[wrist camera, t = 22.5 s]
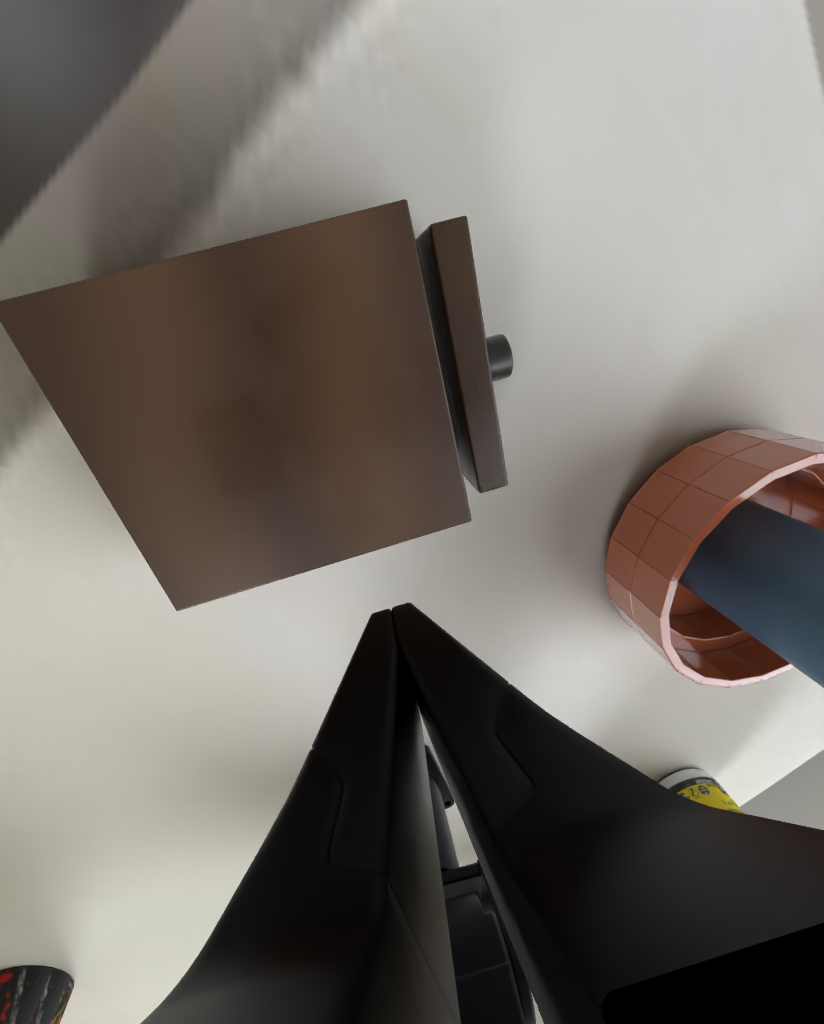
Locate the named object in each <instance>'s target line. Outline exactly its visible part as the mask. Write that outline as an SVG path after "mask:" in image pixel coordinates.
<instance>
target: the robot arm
mask: <svg viewBox="0 0 824 1024" xmlns="http://www.w3.org/2000/svg"><path fill="white" fill-rule="evenodd" d="M418 707H419V708H418ZM419 710H420V713H421V716H422V719H423V721H424V724H425V727H426V729H427V732H428V734H429V737H430V739H431V742H432V744H433V747H434V749H435V752H436V754H437V757H438V759H439V762H440V764H441V767H442V769H443V772H444V774H445V777H446V779H447V782H448V784H449V786H448V784H447V782H446V780H445V778H444V776H443V774H442V772H441V770H440V768H439V766H438V764H437V762H436V760H435V758H434V756H433V754H432V752H431V750H430V748H429V747H428V746H426V745H424V739H423V731H422V724H421V718H420V713H419ZM312 748H313V749H311V750H310V751H309V754H308V756H307V758H306V760H305V763H304V765H303V767H302V769H301V771H300V773H299V775H298V777H297V780H296V782H295V784H294V786H293V788H292V790H291V792H290V794H289V796H288V798H287V800H286V802H285V804H284V806H283V808H282V810H281V811H280V813H279V815H278V817H277V819H276V821H275V822H274V824H273V826H272V828H271V830H270V832H269V833H268V835H267V837H266V839H265V841H264V842H263V844H262V846H261V848H260V849H259V851H258V853H257V855H256V856H255V858H254V860H253V862H252V863H251V865H250V867H249V869H248V871H247V872H246V874H245V876H244V878H243V879H242V881H241V883H240V885H239V886H238V888H237V890H236V892H235V893H234V895H233V897H232V899H231V900H230V902H229V904H228V906H227V907H226V909H225V911H224V913H223V914H222V916H221V918H220V920H219V921H218V923H217V925H216V927H215V928H214V930H213V932H212V934H211V935H210V937H209V939H208V940H207V942H206V944H205V945H204V947H203V949H202V950H201V952H200V953H199V955H198V956H197V958H196V959H195V961H194V962H193V964H192V965H191V967H190V968H189V970H188V971H187V972H186V974H185V975H184V976H183V978H182V979H181V980H180V982H179V983H178V984H177V985H176V987H175V988H174V989H173V991H172V992H171V993H170V994H169V995H168V996H167V997H166V998H165V1000H164V1001H163V1002H162V1003H161V1004H160V1005H159V1006H158V1007H157V1008H156V1009H155V1010H154V1011H153V1012H152V1013H151V1014H150V1015H149V1016H148V1017H147V1018H146V1019H145V1020H144V1021H143V1022H142V1023H141V1024H536V1019H535V1010H534V1005H533V999H532V994H533V997H534V999H535V1001H536V1003H537V1005H538V1008H539V1012H540V1014H541V1017H542V1019H543V1022H544V1024H824V830H820V829H815V828H810V827H806V826H801V825H796V824H791V823H786V822H781V821H777V820H771V819H767V818H762V817H758V816H753V815H748V814H743V813H738V812H734V811H729V810H724V809H719V808H715V807H711V806H708V805H705V804H702V803H699V802H696V801H694V800H691V799H689V798H686V797H684V796H682V795H680V794H678V793H676V792H674V791H672V790H670V789H668V788H666V787H664V786H662V785H661V784H659V783H657V782H656V781H654V780H652V779H651V778H649V777H648V776H646V775H644V774H643V773H641V772H640V771H638V770H636V769H635V768H633V767H632V766H630V765H628V764H627V763H625V762H624V761H622V760H620V759H619V758H617V757H616V756H614V755H612V754H611V753H609V752H608V751H606V750H605V749H603V748H601V747H600V746H598V745H597V744H595V743H593V742H592V741H590V740H589V739H587V738H585V737H584V736H582V735H581V734H579V733H577V732H576V731H574V730H573V729H571V728H570V727H568V726H567V725H565V724H564V723H562V722H561V721H559V720H558V719H556V718H555V717H553V716H552V715H550V714H549V713H547V712H546V711H545V710H543V709H542V708H541V707H539V706H538V705H537V704H536V703H534V702H533V701H532V700H530V699H529V698H528V697H526V696H525V695H524V694H523V693H521V692H520V691H519V690H518V689H516V688H515V687H514V686H513V685H511V684H509V683H508V681H506V680H505V679H504V678H503V677H501V676H500V675H499V674H498V673H496V672H495V671H494V670H493V669H492V668H490V667H489V666H488V665H487V664H485V663H484V662H483V661H482V660H480V659H479V658H478V657H477V656H476V655H474V654H473V653H472V652H471V651H469V650H468V649H467V648H466V647H464V646H463V645H462V644H461V643H460V642H458V641H457V640H456V639H455V638H453V637H452V636H451V635H450V634H448V633H447V632H446V631H445V630H444V629H442V628H441V627H440V626H439V625H437V624H436V623H435V622H434V621H432V620H431V619H430V618H429V617H427V616H426V615H425V614H424V613H423V612H421V611H420V610H419V609H418V608H416V607H415V606H414V605H413V604H411V603H405V604H402V605H399V606H396V607H393V608H392V611H391V610H390V609H386V610H383V611H379V612H376V613H373V614H372V615H371V616H370V618H369V621H368V623H367V625H366V627H365V630H364V632H363V634H362V636H361V638H360V641H359V643H358V645H357V647H356V650H355V652H354V654H353V656H352V658H351V661H350V663H349V665H348V667H347V670H346V672H345V674H344V676H343V679H342V681H341V683H340V685H339V687H338V690H337V692H336V694H335V696H334V699H333V701H332V703H331V705H330V707H329V710H328V712H327V714H326V716H325V719H324V721H323V723H322V725H321V727H320V730H319V732H318V734H317V736H316V739H315V741H314V743H313V745H312ZM449 787H450V788H449ZM450 789H451V790H450ZM453 797H454V798H453ZM454 799H455V802H456V804H457V807H458V809H459V812H460V814H461V817H462V819H463V822H464V824H465V827H466V829H467V832H468V834H469V837H470V839H471V842H472V844H473V847H474V849H475V852H476V854H477V857H478V859H479V860H477V863H474V864H470V865H466V866H462V867H459V865H458V861H457V857H456V853H455V848H454V844H453V840H452V836H451V832H450V828H449V824H448V820H447V816H446V812H445V809H447V808H449V807H451V806H452V805H453V804H454ZM531 992H532V994H531Z"/></svg>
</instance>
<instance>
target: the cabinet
mask: <svg viewBox="0 0 824 1024" xmlns="http://www.w3.org/2000/svg"><path fill="white" fill-rule="evenodd" d="M0 322H1V324H2V325H3V327H4V329H5V330H6V332H7V333H8V335H9V337H10V338H11V340H12V342H13V343H14V345H15V347H16V348H17V350H18V351H19V353H20V355H21V356H22V358H23V360H24V361H25V363H26V365H27V366H28V368H29V370H30V371H31V373H32V374H33V376H34V378H35V379H36V381H37V383H38V384H39V386H40V388H41V389H42V391H43V392H44V394H45V396H46V397H47V399H48V401H49V402H50V404H51V406H52V407H53V409H54V411H55V412H56V414H57V415H58V417H59V419H60V420H61V422H62V424H63V425H64V427H65V429H66V430H67V432H68V433H69V435H70V437H71V438H72V440H73V442H74V443H75V445H76V447H77V448H78V450H79V452H80V453H81V455H82V456H83V458H84V460H85V461H86V463H87V465H88V466H89V468H90V470H91V471H92V473H93V474H94V476H95V478H96V479H97V481H98V483H99V484H100V486H101V488H102V489H103V491H104V493H105V494H106V496H107V497H108V499H109V501H110V502H111V504H112V506H113V507H114V509H115V511H116V512H117V514H118V515H119V517H120V519H121V520H122V522H123V524H124V525H125V527H126V529H127V530H128V532H129V534H130V535H131V537H132V538H133V540H134V542H135V543H136V545H137V547H138V548H139V550H140V552H141V553H142V555H143V556H144V558H145V560H146V561H147V563H148V565H149V566H150V568H151V570H152V571H153V573H154V575H155V576H156V578H157V579H158V581H159V583H160V584H161V586H162V588H163V589H164V591H165V593H166V594H167V596H168V597H169V599H170V601H171V602H172V604H173V606H174V607H175V609H176V610H177V611H180V610H183V609H186V608H189V607H193V606H196V605H199V604H202V603H206V602H209V601H212V600H215V599H219V598H222V597H225V596H228V595H232V594H235V593H238V592H242V591H245V590H248V589H251V588H255V587H258V586H261V585H264V584H268V583H271V582H274V581H277V580H281V579H284V578H287V577H290V576H294V575H297V574H300V573H303V572H307V571H310V570H313V569H317V568H320V567H323V566H326V565H330V564H333V563H336V562H339V561H343V560H346V559H349V558H352V557H356V556H359V555H362V554H365V553H369V552H372V551H375V550H378V549H382V548H385V547H388V546H391V545H395V544H398V543H401V542H405V541H408V540H411V539H414V538H418V537H421V536H424V535H427V534H431V533H434V532H437V531H440V530H444V529H447V528H450V527H453V526H457V525H460V524H463V523H466V522H470V521H471V514H470V509H469V504H468V499H467V494H466V489H465V484H464V480H463V475H462V470H461V465H460V460H459V455H458V450H457V445H456V440H455V435H454V430H453V425H452V420H451V415H450V410H449V405H448V400H447V395H446V391H445V386H444V381H443V376H442V371H441V366H440V361H439V356H438V351H437V346H436V341H435V336H434V331H433V326H432V321H431V316H430V311H429V306H428V301H427V297H426V292H425V287H424V282H423V277H422V272H421V267H420V262H419V257H418V252H417V247H416V242H415V237H414V232H413V227H412V222H411V217H410V212H409V207H408V203H407V200H400V201H396V202H392V203H388V204H384V205H380V206H376V207H372V208H368V209H364V210H360V211H356V212H353V213H349V214H345V215H341V216H337V217H333V218H329V219H325V220H321V221H317V222H313V223H309V224H305V225H301V226H297V227H293V228H289V229H285V230H281V231H277V232H273V233H269V234H265V235H261V236H257V237H253V238H249V239H245V240H241V241H237V242H233V243H229V244H225V245H221V246H217V247H214V248H210V249H206V250H202V251H198V252H194V253H190V254H186V255H182V256H178V257H174V258H170V259H166V260H162V261H158V262H154V263H150V264H146V265H142V266H138V267H134V268H130V269H126V270H122V271H118V272H114V273H110V274H106V275H102V276H98V277H94V278H90V279H86V280H82V281H78V282H75V283H71V284H67V285H63V286H59V287H55V288H51V289H47V290H43V291H39V292H35V293H31V294H27V295H23V296H19V297H15V298H11V299H7V300H3V301H0Z"/></svg>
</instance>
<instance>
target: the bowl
mask: <svg viewBox="0 0 824 1024" xmlns="http://www.w3.org/2000/svg"><path fill="white" fill-rule="evenodd" d="M746 499H748V500H751V501H753V502H756V503H758V504H760V505H763V506H765V507H768V508H770V509H773V510H775V511H778V512H780V513H782V514H785V515H787V516H790V517H792V518H795V519H797V520H800V521H802V522H805V523H807V524H809V525H812V526H814V527H817V528H819V529H822V530H824V442H820V441H815V440H811V439H806V438H802V437H798V436H793V435H789V434H785V433H780V432H776V431H772V430H767V429H762V428H759V429H743V430H729V431H725V432H723V433H720V434H718V435H715V436H713V437H710V438H708V439H705V440H703V441H700V442H697V443H695V444H692V445H690V446H688V447H687V448H685V449H684V450H683V451H681V452H680V453H679V454H677V455H676V456H674V457H673V458H672V459H670V460H669V461H668V462H666V463H665V464H663V465H662V466H661V467H659V468H658V469H657V470H656V471H655V472H654V473H653V474H652V475H651V477H650V478H649V479H648V480H647V481H646V482H645V484H644V485H643V486H642V487H641V488H640V489H639V491H638V492H637V493H636V494H635V495H634V496H633V498H632V499H631V500H630V501H629V502H630V503H628V504H627V506H626V508H625V510H624V512H623V514H622V516H621V518H620V520H619V522H618V524H617V526H616V528H615V530H614V532H613V534H612V537H611V539H610V544H609V549H608V554H607V559H606V565H605V574H606V581H607V587H608V594H609V598H610V600H611V601H612V603H613V604H614V606H615V608H616V609H617V611H618V612H619V614H620V615H621V617H622V618H623V619H624V620H625V621H626V622H627V623H628V624H629V625H630V626H631V627H632V628H633V629H634V630H635V631H636V632H637V633H638V634H639V635H640V636H641V637H642V638H643V639H644V640H645V641H646V642H647V643H648V644H649V645H650V646H651V647H652V648H653V649H654V650H655V651H656V652H657V653H658V654H659V655H660V656H661V657H662V658H664V659H665V660H666V661H667V662H668V663H669V664H670V665H671V666H672V667H673V668H674V669H675V670H676V671H677V672H679V673H681V674H682V675H684V676H686V677H688V678H689V679H691V680H693V681H694V682H696V683H698V684H703V685H712V686H720V687H733V686H739V685H745V684H750V683H756V682H760V681H763V680H766V679H768V678H771V677H773V676H775V675H778V674H780V673H783V672H785V671H788V670H790V669H792V668H794V666H793V665H792V664H790V663H789V662H788V661H786V660H785V659H783V658H782V657H781V656H779V655H778V654H777V653H775V652H774V651H772V650H771V649H770V648H768V647H767V646H765V645H764V644H763V643H761V642H760V641H759V640H757V639H756V638H754V637H753V636H752V635H750V634H749V633H748V632H746V631H745V630H743V629H742V628H741V627H739V626H738V625H737V624H735V623H734V622H732V621H731V620H730V619H728V618H727V617H726V616H724V615H723V614H721V613H720V612H719V611H717V610H716V609H714V608H713V607H712V606H710V605H709V604H708V603H706V602H705V601H703V600H702V599H701V598H699V597H698V596H697V595H695V594H694V593H692V592H691V591H690V590H688V589H687V588H686V587H684V586H683V585H681V584H680V583H679V582H678V581H679V579H680V577H681V575H682V574H683V572H684V570H685V569H686V567H687V565H688V564H689V562H690V560H691V558H692V557H693V555H694V553H695V552H696V550H697V548H698V547H699V545H700V543H701V542H702V541H703V540H704V539H705V538H706V537H707V536H708V535H709V534H710V532H711V531H712V530H713V529H714V528H715V527H716V526H717V525H718V524H719V523H720V522H721V521H722V520H723V519H724V518H725V516H726V515H727V514H728V513H729V512H730V511H731V510H732V509H733V508H734V507H736V506H737V505H739V504H740V503H742V502H743V501H744V500H746Z"/></svg>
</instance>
